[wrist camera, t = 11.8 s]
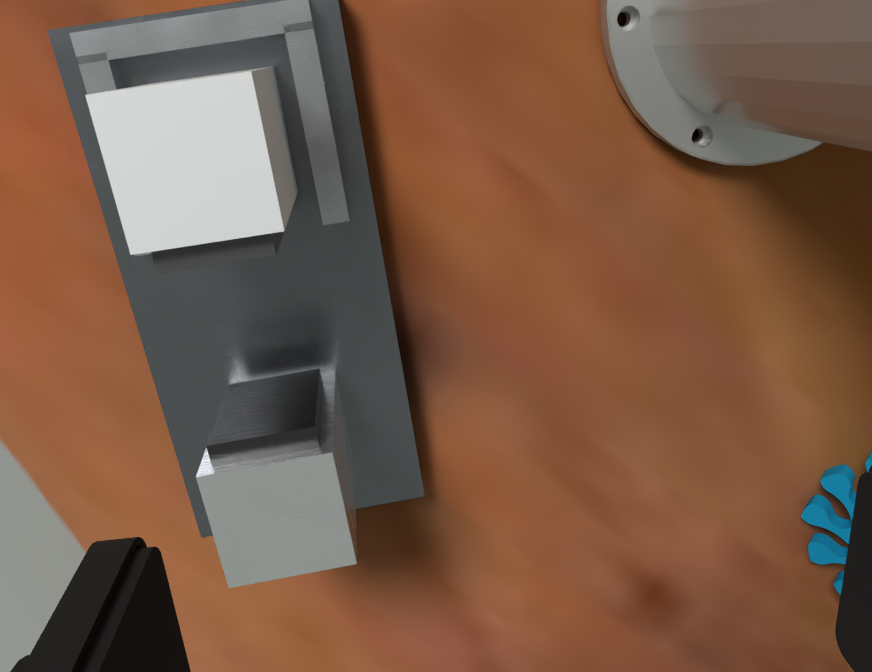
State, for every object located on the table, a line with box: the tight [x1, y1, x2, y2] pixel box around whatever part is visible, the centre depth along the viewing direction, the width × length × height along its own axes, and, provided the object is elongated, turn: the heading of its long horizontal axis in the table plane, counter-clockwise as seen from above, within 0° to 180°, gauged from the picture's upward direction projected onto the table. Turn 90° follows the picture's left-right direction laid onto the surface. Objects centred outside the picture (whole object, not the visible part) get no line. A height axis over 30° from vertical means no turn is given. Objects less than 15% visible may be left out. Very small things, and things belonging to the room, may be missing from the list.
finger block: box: [85, 66, 298, 274], centre depth 25 cm, size 4×5×7 cm
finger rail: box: [47, 0, 425, 588], centre depth 28 cm, size 10×21×8 cm, turn 8°
